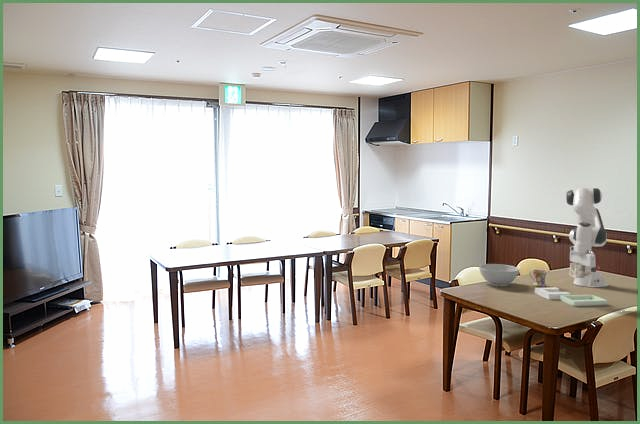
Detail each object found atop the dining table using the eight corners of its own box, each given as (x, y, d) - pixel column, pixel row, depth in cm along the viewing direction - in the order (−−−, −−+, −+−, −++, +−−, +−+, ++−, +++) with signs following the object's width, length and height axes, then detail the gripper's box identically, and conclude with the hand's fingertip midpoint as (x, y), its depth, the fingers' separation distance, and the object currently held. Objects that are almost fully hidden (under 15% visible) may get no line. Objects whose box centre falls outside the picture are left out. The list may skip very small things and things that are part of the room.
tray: (591, 299, 325) (592, 294, 325) (607, 305, 312) (607, 300, 311) (559, 300, 322) (560, 295, 322) (573, 306, 308) (574, 301, 308)
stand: (555, 292, 341) (555, 287, 341) (570, 298, 325) (570, 293, 325) (534, 293, 339) (534, 287, 339) (548, 299, 323) (548, 294, 323)
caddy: (591, 275, 319) (592, 262, 319) (598, 277, 313) (599, 264, 313) (569, 275, 317) (570, 263, 316) (575, 278, 311) (576, 265, 311)
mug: (548, 286, 358) (549, 271, 357) (542, 288, 352) (543, 273, 351) (531, 283, 367) (532, 268, 366) (525, 285, 361) (526, 270, 360)
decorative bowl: (470, 281, 370) (471, 265, 368) (500, 279, 379) (501, 262, 378) (495, 290, 345) (496, 272, 344) (527, 287, 354) (528, 270, 353)
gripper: (599, 252, 304) (597, 275, 305) (577, 246, 324) (576, 268, 325) (589, 252, 303) (588, 275, 304) (568, 246, 323) (566, 268, 324)
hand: (581, 271), depth 315 cm, fingers closed on caddy, 6 cm apart
